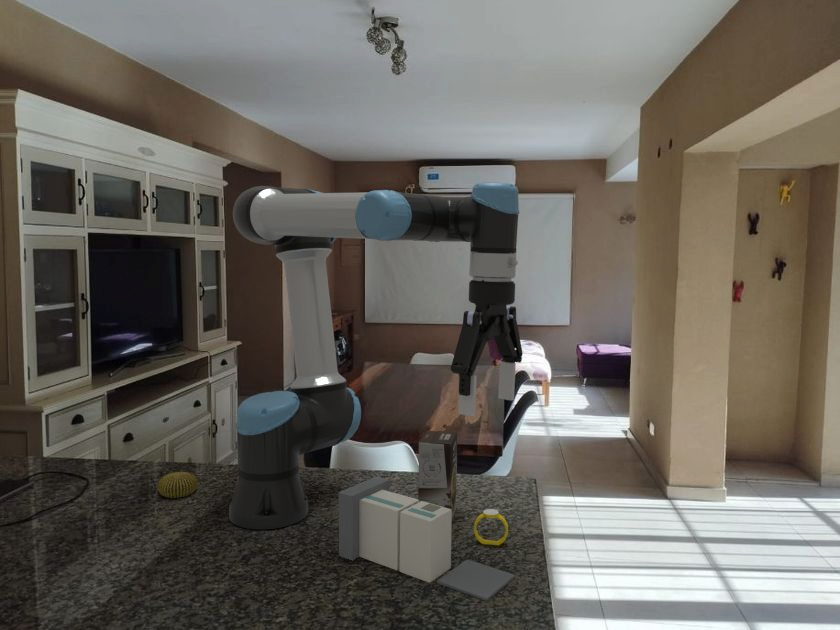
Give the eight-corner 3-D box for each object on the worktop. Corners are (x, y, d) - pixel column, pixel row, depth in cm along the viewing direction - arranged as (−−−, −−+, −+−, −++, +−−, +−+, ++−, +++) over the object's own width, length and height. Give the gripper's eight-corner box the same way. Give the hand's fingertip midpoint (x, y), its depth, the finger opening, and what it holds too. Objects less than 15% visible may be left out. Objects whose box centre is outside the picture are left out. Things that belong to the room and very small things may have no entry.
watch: (474, 547, 117) (472, 514, 117) (475, 540, 120) (473, 508, 120) (508, 547, 116) (506, 514, 116) (508, 540, 119) (507, 508, 119)
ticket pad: (334, 554, 113) (334, 491, 112) (371, 534, 121) (372, 475, 120) (389, 575, 106) (390, 507, 105) (425, 552, 114) (426, 489, 113)
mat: (436, 583, 104) (436, 580, 104) (467, 561, 111) (467, 559, 111) (486, 601, 99) (486, 598, 99) (515, 577, 106) (515, 575, 106)
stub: (399, 571, 108) (400, 511, 107) (421, 557, 112) (421, 500, 111) (429, 582, 104) (430, 520, 103) (450, 568, 109) (451, 508, 108)
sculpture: (193, 467, 146) (200, 478, 139) (193, 484, 146) (201, 496, 139) (154, 472, 142) (160, 484, 135) (155, 491, 142) (160, 503, 135)
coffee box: (450, 527, 125) (451, 444, 123) (416, 524, 126) (417, 441, 124) (457, 509, 134) (458, 431, 132) (425, 506, 135) (426, 428, 133)
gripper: (474, 283, 96) (468, 426, 98) (545, 278, 116) (539, 396, 119) (430, 280, 100) (426, 418, 103) (506, 275, 121) (502, 390, 123)
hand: (487, 406), depth 111 cm, fingers open, 13 cm apart
